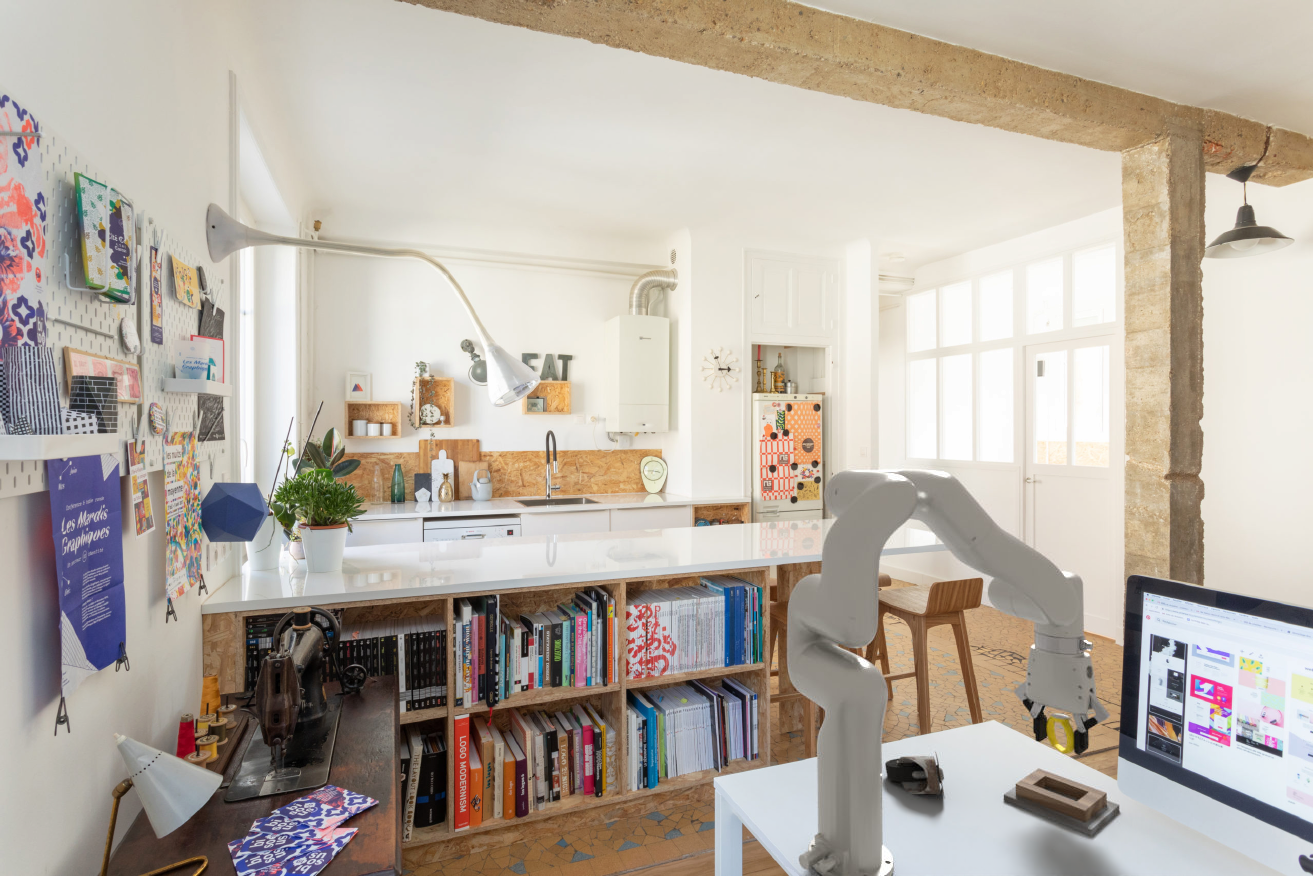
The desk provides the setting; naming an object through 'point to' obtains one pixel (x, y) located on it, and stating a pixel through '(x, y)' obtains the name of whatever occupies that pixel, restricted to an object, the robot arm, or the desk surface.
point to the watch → (1068, 730)
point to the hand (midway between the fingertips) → (1060, 744)
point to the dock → (1063, 801)
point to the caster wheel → (916, 774)
